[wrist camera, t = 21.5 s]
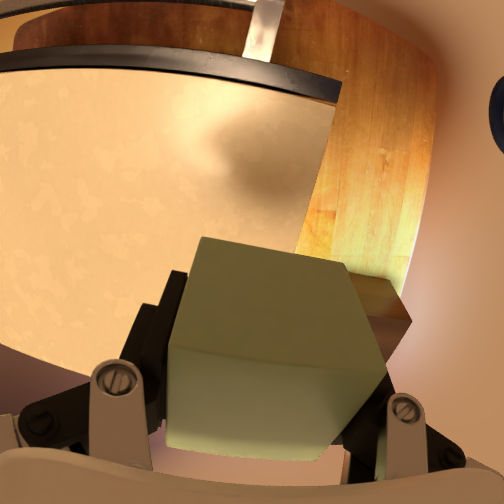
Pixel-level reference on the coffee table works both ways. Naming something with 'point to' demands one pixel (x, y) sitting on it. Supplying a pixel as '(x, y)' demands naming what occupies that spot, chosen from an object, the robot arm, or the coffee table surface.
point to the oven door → (179, 52)
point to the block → (267, 354)
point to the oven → (136, 194)
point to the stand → (382, 311)
